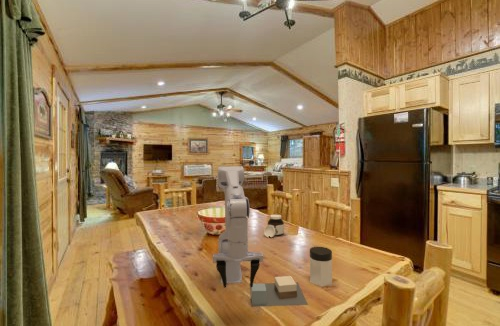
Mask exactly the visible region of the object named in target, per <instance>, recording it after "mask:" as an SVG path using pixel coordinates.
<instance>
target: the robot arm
mask: <svg viewBox="0 0 500 326" xmlns="http://www.w3.org/2000/svg"><path fill="white" fill-rule="evenodd" d="M244 180H245V169H244V166H242V165H240V166H239V165H237V166H233V165H232V166H218V167H217V185H218V187H219V188H220V189H222V190H223V193H224V219H225V221H224V223H225V224H224V226H225V230H224V231H223V232H221V233H220V234H219V236H218V245H217V246H218V249H217V250H218V253H213V255H212V264H215V265H216V270H217V271H218V273H219V275H220V284H222V285H223V288H225V289H226V288H227V284H241V283H242V281H243V279H242V277H243V276H242V273H243V272H242V269H241V265H242V264H241V263H242V262H250V274H249V288H250V287H253V284H254V281H255V277H256V274H257V272H258V270H259V268H260V263H263V262H264V255H263V252H254V251H253V252H252V251H248V250H249V249H248V247H249V245H248V244H249V243H248V242H249V241H248V240H249V239H248V238H249V236H248V231H249V229H248V228H249V227H248V225H249V223H248V221H249V220H248V219H249V218H250V214H251V213H250V209H251V208H250V202H249V198H248V197H247V196H245V191H244V187H243V186H242V185H243V183H244Z"/></svg>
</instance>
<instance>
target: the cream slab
mask: <svg viewBox="0 0 500 326" xmlns="http://www.w3.org/2000/svg"><path fill="white" fill-rule="evenodd" d="M274 283H275V285H276V287H277V289H278V291H279V292H289V291H297V284H296V281H295V280H294V278H293V277H292V276H291V275H285V276H283V275H282V276H274Z"/></svg>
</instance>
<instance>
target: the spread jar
mask: <svg viewBox="0 0 500 326" xmlns="http://www.w3.org/2000/svg"><path fill="white" fill-rule="evenodd" d="M284 232H285V222H284V220H283V219H282V215H281V214H270V215H269V219H268V221H267V226H265V228H264V229H263V233H264V236H265V237H266V238H269V237H268V236H270V237H271V238H273V237H281V236H283V234H284ZM280 235H281V236H280Z"/></svg>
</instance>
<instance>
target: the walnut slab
mask: <svg viewBox="0 0 500 326" xmlns="http://www.w3.org/2000/svg"><path fill="white" fill-rule="evenodd" d="M274 290H275V292H276V293H277V295H278V297H279V298H280V299H285V298H292V297H297V291H289V292H279V291H278V289H277V287H276V285H275V284H274Z"/></svg>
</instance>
